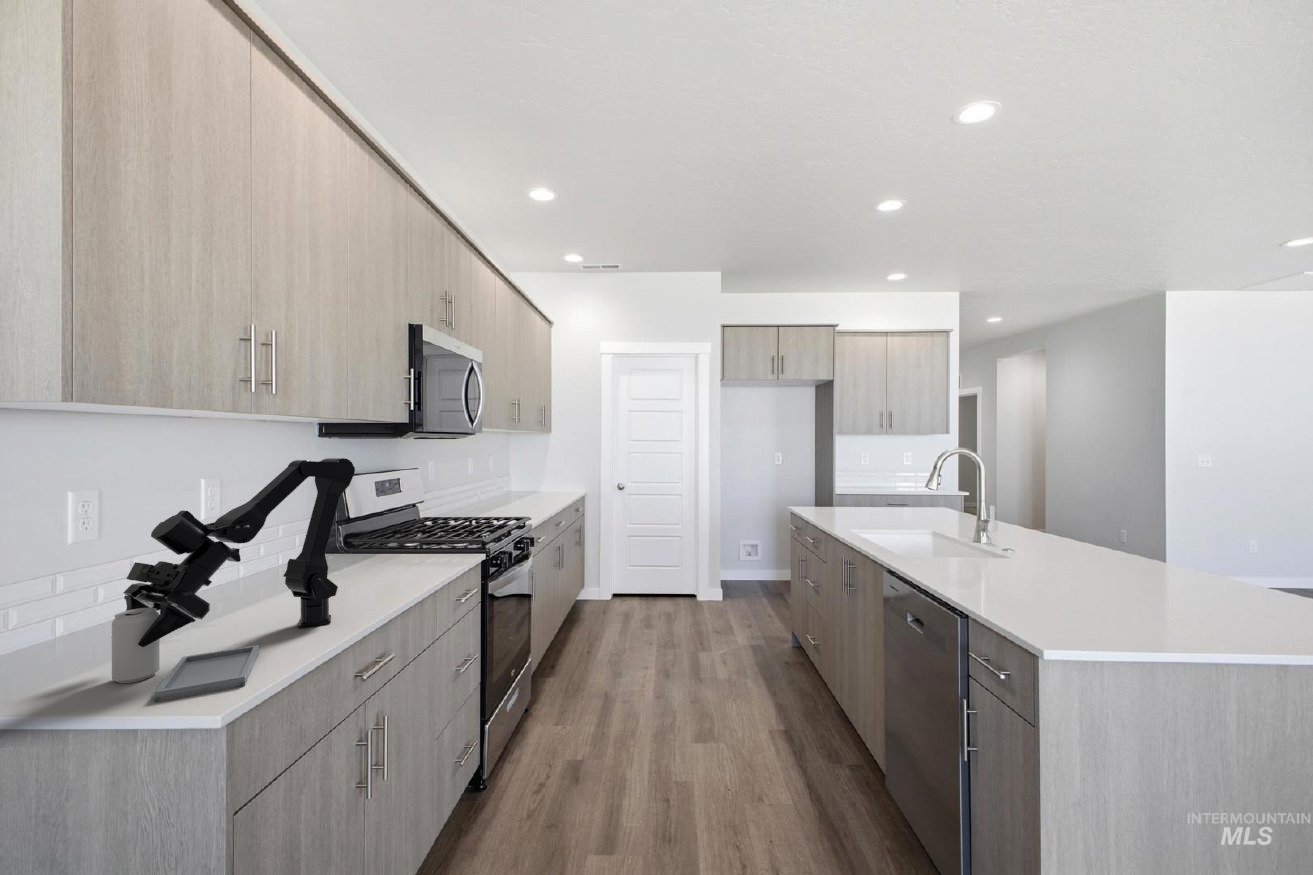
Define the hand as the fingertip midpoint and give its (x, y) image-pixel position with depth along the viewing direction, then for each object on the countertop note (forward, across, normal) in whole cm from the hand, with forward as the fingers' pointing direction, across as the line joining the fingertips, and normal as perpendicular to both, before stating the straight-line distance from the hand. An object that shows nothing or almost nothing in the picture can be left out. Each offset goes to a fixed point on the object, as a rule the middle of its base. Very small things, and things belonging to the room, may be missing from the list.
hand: (126, 642), depth 101 cm
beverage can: (+4, 0, +6) cm, 7 cm away
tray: (0, +12, +10) cm, 16 cm away
